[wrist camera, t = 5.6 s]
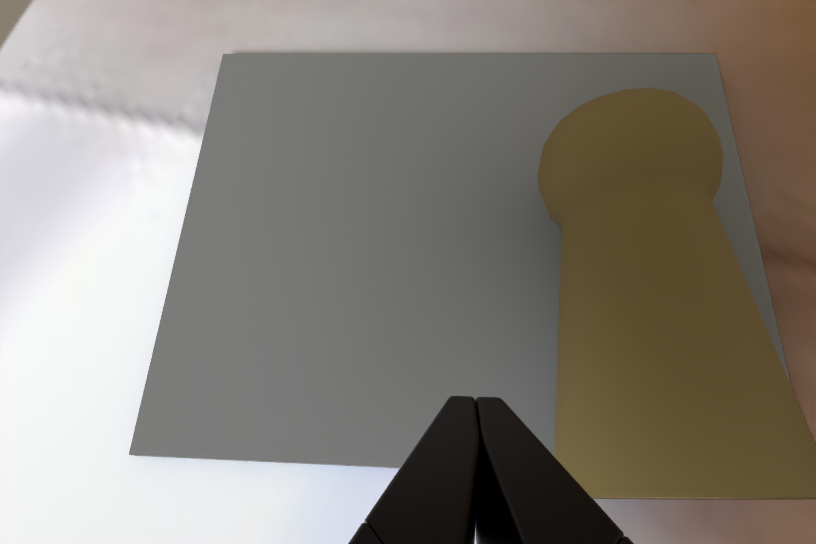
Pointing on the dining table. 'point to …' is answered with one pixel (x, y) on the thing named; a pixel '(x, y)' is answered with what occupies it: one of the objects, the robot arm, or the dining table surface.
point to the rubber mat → (384, 249)
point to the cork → (661, 316)
